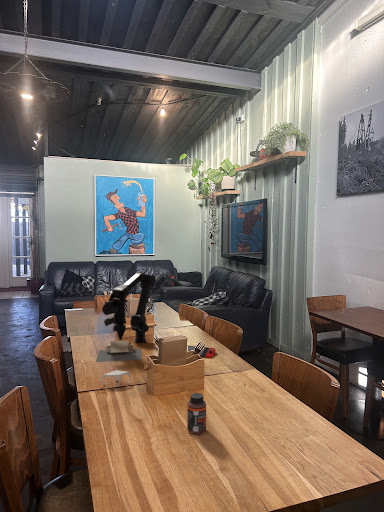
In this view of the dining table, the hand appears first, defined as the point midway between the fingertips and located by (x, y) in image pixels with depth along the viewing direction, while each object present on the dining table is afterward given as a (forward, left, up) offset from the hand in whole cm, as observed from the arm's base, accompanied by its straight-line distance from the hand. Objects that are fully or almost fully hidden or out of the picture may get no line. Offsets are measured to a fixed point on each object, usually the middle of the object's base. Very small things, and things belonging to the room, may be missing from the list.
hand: (120, 340), depth 199 cm
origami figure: (+47, -1, -5) cm, 47 cm away
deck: (+7, 0, -2) cm, 8 cm away
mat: (+11, 0, -5) cm, 12 cm away
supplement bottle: (+88, +27, -5) cm, 92 cm away
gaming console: (+12, +35, -6) cm, 37 cm away
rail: (+5, 0, -5) cm, 7 cm away
